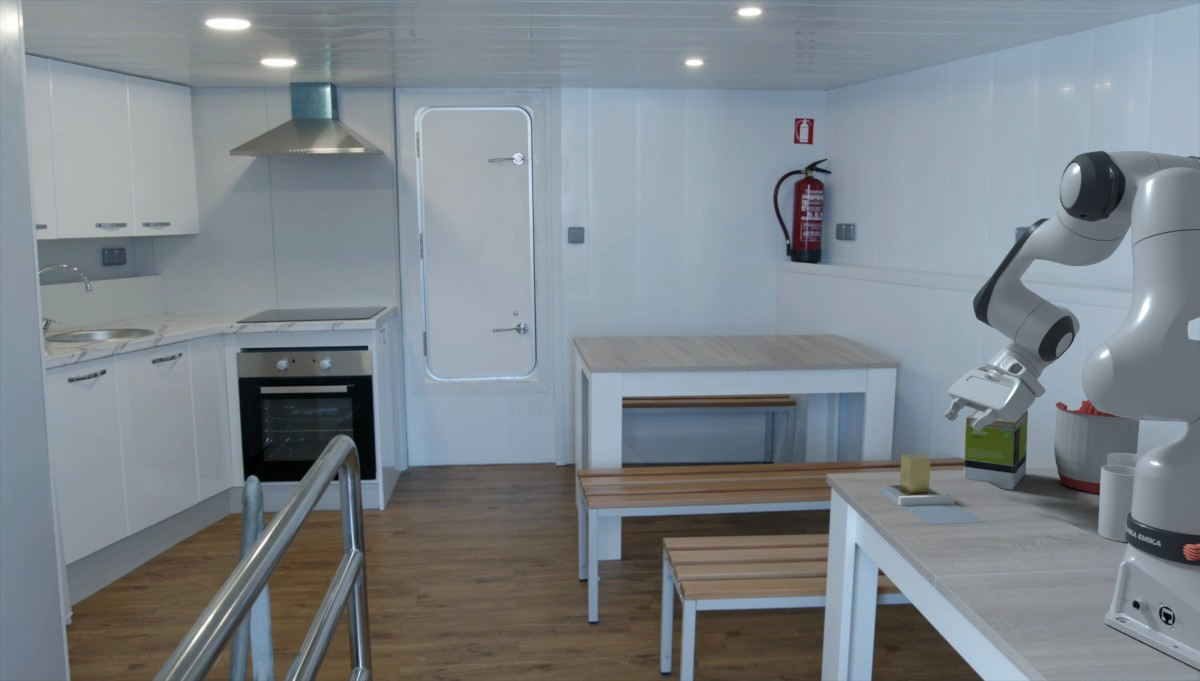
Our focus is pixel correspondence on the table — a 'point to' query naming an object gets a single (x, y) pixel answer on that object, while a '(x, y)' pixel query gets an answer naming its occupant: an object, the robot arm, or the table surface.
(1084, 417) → the citrus juicer
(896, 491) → the frame
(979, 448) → the tea box
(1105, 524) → the mug
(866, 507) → the table surface
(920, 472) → the block
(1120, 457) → the white cup
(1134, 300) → the robot arm
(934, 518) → the plate
